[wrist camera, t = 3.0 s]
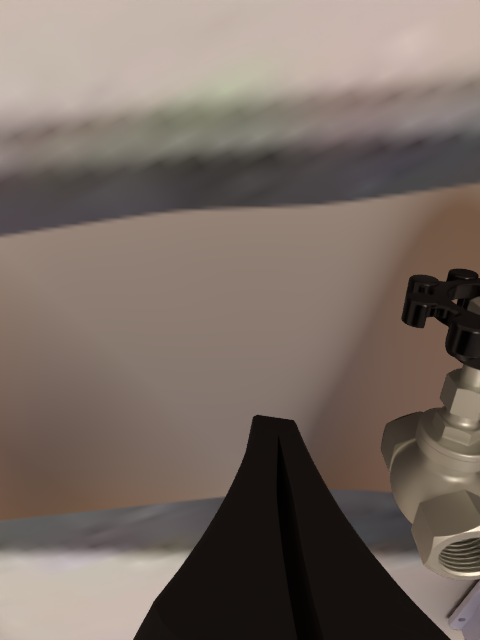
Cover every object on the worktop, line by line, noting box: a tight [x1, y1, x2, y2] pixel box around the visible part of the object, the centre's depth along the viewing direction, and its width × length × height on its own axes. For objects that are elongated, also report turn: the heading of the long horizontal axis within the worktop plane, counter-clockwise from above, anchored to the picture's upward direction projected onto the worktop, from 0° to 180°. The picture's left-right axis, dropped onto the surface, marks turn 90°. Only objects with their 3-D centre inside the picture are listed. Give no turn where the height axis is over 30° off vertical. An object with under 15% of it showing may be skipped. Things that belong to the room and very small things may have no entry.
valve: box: [381, 269, 480, 580], centre depth 16 cm, size 7×7×12 cm
